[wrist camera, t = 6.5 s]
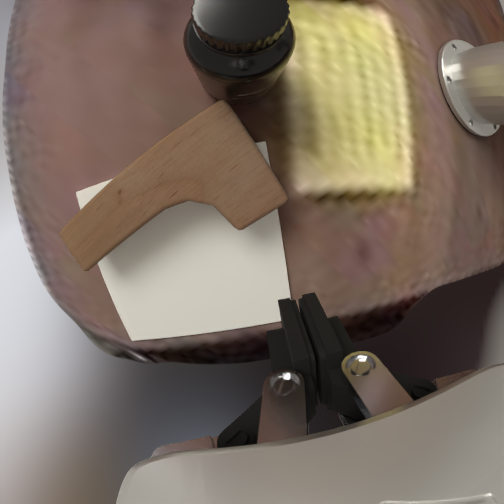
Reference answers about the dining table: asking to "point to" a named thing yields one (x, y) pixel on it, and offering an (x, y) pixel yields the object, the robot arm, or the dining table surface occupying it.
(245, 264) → the off-white mat
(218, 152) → the wooden block
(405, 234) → the dining table surface
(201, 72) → the supplement bottle
